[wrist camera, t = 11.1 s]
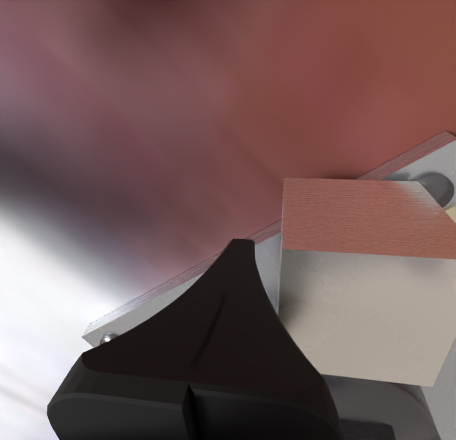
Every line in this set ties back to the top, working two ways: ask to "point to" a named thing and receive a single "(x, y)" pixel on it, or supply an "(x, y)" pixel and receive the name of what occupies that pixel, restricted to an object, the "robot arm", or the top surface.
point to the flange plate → (270, 255)
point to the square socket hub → (370, 297)
